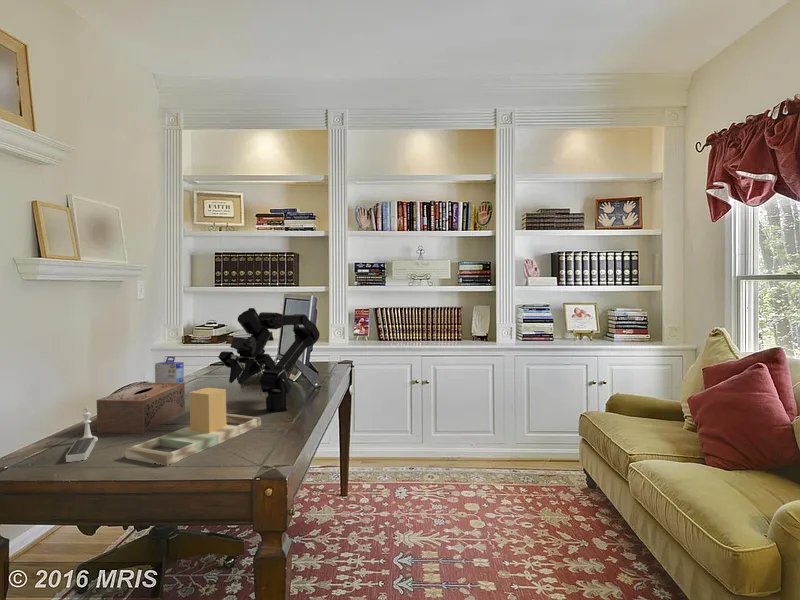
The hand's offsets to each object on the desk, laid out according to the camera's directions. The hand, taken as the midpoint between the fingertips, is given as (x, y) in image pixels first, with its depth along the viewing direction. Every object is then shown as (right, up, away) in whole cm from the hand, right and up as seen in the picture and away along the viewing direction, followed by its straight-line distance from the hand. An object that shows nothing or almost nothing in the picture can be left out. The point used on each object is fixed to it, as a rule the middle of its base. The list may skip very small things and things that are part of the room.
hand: (234, 382), depth 161 cm
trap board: (-6, -14, -13) cm, 20 cm away
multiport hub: (-33, -16, -23) cm, 43 cm away
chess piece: (-37, -15, -14) cm, 42 cm away
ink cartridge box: (-41, -12, +48) cm, 65 cm away
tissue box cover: (-32, -14, +8) cm, 35 cm away
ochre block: (-4, -12, -10) cm, 16 cm away
